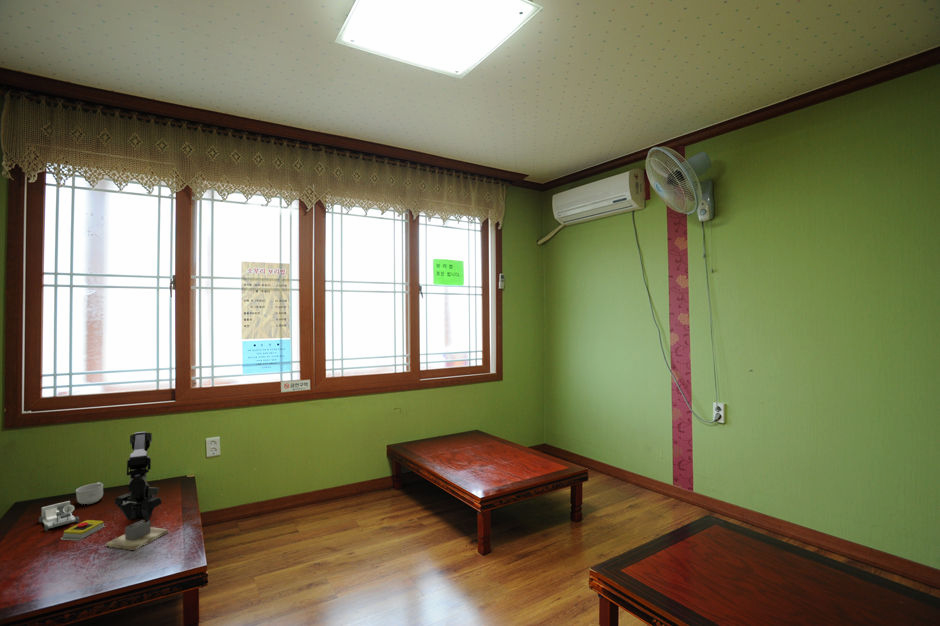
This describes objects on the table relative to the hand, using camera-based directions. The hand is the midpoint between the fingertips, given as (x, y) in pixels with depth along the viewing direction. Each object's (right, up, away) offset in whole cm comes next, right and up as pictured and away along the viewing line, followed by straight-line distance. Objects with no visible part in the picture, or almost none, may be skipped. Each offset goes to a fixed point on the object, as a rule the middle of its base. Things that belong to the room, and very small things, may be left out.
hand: (138, 521), depth 200 cm
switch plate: (0, -8, 0) cm, 8 cm away
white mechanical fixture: (-46, -8, +15) cm, 49 cm away
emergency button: (-28, -8, +7) cm, 30 cm away
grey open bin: (0, -7, 0) cm, 7 cm away
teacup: (-51, -8, +39) cm, 65 cm away
